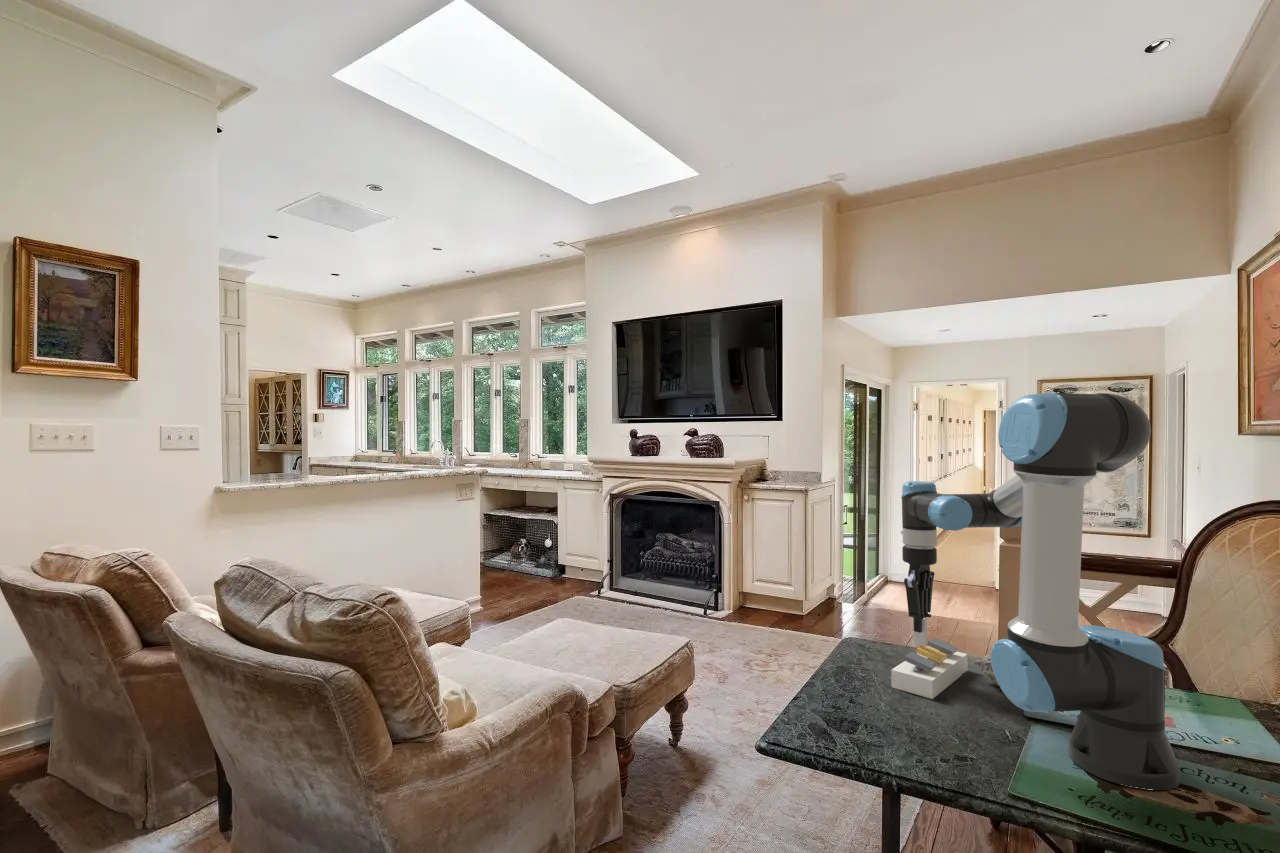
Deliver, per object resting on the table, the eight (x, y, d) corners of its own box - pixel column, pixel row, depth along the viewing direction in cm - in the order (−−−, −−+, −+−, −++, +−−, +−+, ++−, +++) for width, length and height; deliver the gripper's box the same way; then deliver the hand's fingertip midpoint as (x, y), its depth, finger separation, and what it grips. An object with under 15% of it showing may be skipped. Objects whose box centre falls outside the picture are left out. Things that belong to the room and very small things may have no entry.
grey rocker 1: (935, 667, 140) (936, 662, 140) (928, 671, 137) (929, 667, 137) (910, 655, 144) (911, 651, 144) (903, 660, 141) (904, 655, 141)
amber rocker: (946, 659, 145) (947, 654, 145) (940, 663, 142) (941, 659, 142) (922, 648, 149) (923, 644, 149) (915, 652, 146) (916, 648, 146)
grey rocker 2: (956, 651, 150) (957, 647, 150) (950, 655, 147) (951, 651, 147) (933, 641, 154) (934, 637, 154) (927, 645, 151) (928, 641, 151)
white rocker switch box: (974, 665, 154) (973, 644, 154) (932, 699, 134) (932, 675, 134) (936, 656, 160) (936, 636, 160) (891, 687, 141) (891, 664, 141)
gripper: (914, 540, 155) (914, 634, 155) (892, 547, 146) (893, 647, 146) (945, 544, 150) (946, 641, 149) (925, 552, 140) (925, 655, 140)
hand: (920, 644), depth 147 cm, fingers closed
